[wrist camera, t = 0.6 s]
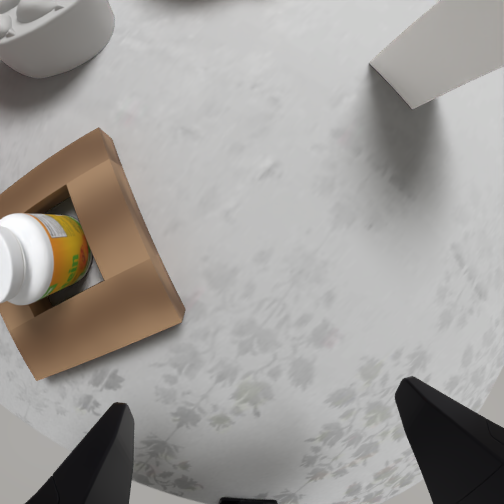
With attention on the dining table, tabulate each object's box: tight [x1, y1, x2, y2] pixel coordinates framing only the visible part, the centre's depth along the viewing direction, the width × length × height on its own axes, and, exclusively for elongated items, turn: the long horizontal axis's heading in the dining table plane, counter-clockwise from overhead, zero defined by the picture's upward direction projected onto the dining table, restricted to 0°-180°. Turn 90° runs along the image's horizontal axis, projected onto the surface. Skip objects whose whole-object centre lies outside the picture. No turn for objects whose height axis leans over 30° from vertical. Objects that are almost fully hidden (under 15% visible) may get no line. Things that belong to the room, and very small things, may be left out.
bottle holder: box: [0, 127, 185, 381], centre depth 18 cm, size 14×14×3 cm
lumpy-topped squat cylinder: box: [0, 0, 115, 79], centre depth 13 cm, size 10×13×9 cm
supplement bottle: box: [0, 213, 92, 305], centre depth 15 cm, size 5×5×10 cm
